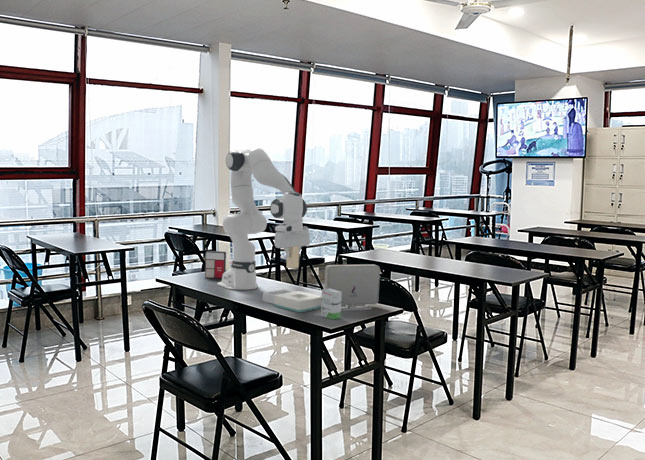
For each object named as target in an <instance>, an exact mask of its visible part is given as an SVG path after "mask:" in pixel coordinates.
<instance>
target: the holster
mask: <svg viewBox="0 0 645 460" xmlns="http://www.w3.org/2000/svg"><path fill="white" fill-rule="evenodd" d="M291 292H295V291H294V290H289V289H285V288H284V289H283V288H282V289H277V290H272V291H267V292H265V291H264V292H262V302H265V303H268V304H269V303H270V304H273V305H274V297H275V295H279V294H285V293H291Z"/></svg>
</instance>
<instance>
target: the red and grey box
mask: <svg viewBox="0 0 645 460" xmlns="http://www.w3.org/2000/svg"><path fill="white" fill-rule="evenodd" d="M204 259H205V261H204V262H205V264H204V266H205V268H204V270H205V271H204V278H205V279H221V280H222V276H223V273H225V272H226V271H227V270H226V268H227V267H226V264H227V263H226V262H227V251H221V250H219V251H217V250H207V251H205V258H204Z"/></svg>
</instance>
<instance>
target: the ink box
mask: <svg viewBox="0 0 645 460" xmlns="http://www.w3.org/2000/svg"><path fill="white" fill-rule="evenodd" d="M321 296H322V301H321V308H320V316H321V317H324V318H327V319H329V320H337V319H341V318H342V311H341V309H342V306H341V296H342V292H340V291H337V290H334V289H324V288H322V289H321Z"/></svg>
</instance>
